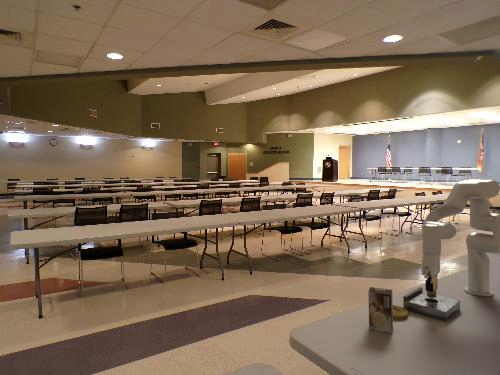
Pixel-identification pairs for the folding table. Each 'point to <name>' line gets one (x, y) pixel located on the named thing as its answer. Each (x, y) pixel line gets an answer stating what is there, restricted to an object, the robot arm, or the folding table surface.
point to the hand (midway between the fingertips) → (431, 289)
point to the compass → (399, 313)
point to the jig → (430, 305)
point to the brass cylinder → (433, 294)
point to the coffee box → (380, 309)
